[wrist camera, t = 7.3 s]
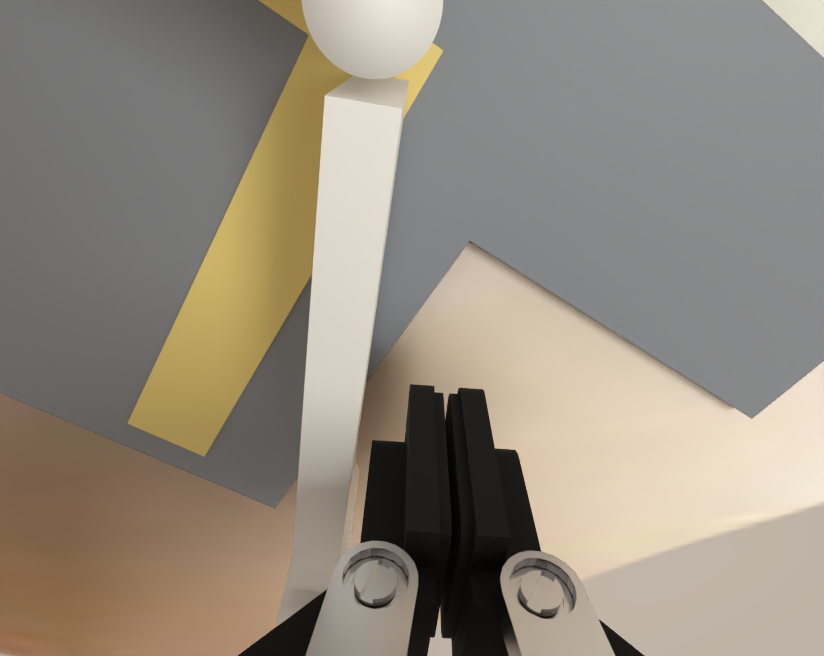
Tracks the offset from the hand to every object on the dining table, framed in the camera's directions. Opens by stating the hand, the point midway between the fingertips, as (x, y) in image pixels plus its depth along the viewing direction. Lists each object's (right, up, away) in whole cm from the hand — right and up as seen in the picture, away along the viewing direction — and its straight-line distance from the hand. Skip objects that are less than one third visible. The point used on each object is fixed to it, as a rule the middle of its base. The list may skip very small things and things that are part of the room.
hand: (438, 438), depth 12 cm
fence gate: (-2, +3, +1) cm, 4 cm away
